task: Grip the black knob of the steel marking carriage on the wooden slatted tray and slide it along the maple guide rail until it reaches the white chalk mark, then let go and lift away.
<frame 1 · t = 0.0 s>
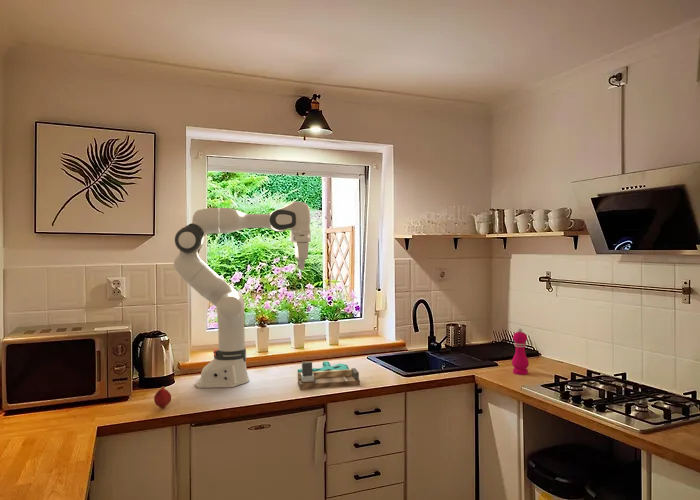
hand: (301, 269, 230), 48 cm above the worktop, tool pointing down, fingers open, 8 cm apart
pepper mill: (520, 373, 232), on the worktop
alien figure: (328, 373, 239), on the worktop
onion: (162, 409, 190), on the worktop
marking carriage: (307, 371, 217), point 6 cm above the worktop, slide at 0.0 cm
wooden slatted tray: (328, 383, 219), on the worktop
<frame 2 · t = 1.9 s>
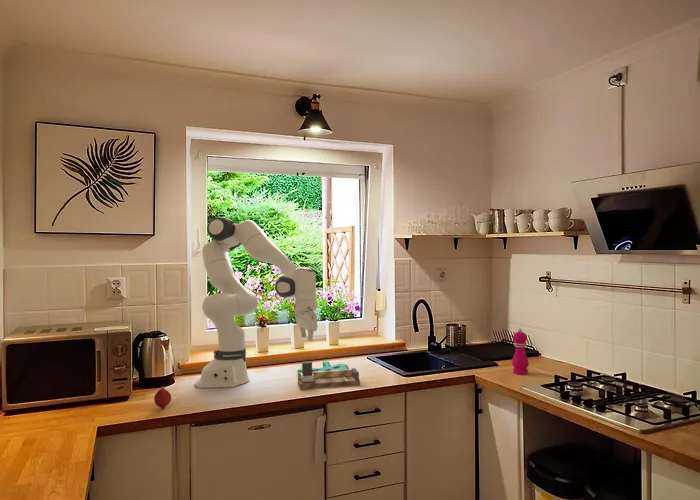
hand: (306, 339, 217), 20 cm above the worktop, tool pointing down, fingers open, 8 cm apart
nothing on the worktop moved.
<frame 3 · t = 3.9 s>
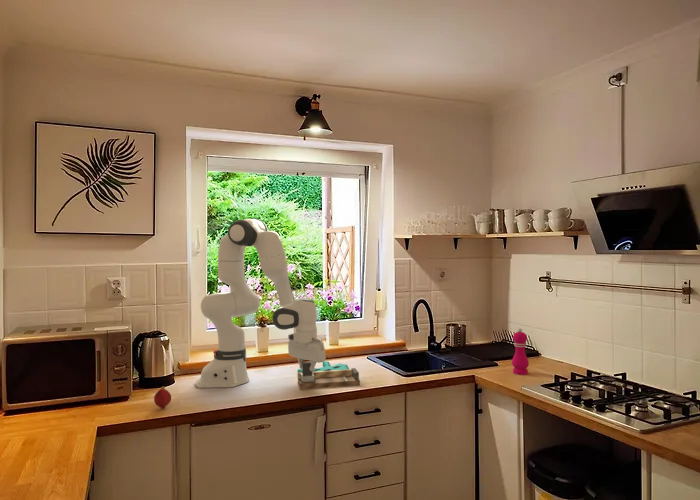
hand: (306, 369, 217), 7 cm above the worktop, tool pointing down, fingers closed on marking carriage, 5 cm apart
marking carriage: (307, 371, 217), point 6 cm above the worktop, slide at 0.0 cm, touching gripper
everything else where it was.
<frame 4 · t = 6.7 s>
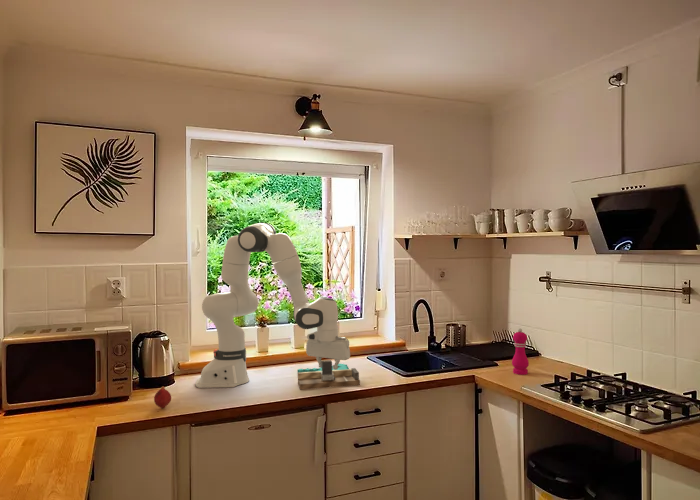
hand: (328, 368, 219), 7 cm above the worktop, tool pointing down, fingers open, 6 cm apart
marking carriage: (327, 369, 219), point 6 cm above the worktop, slide at 8.4 cm, touching gripper
everything else where it was.
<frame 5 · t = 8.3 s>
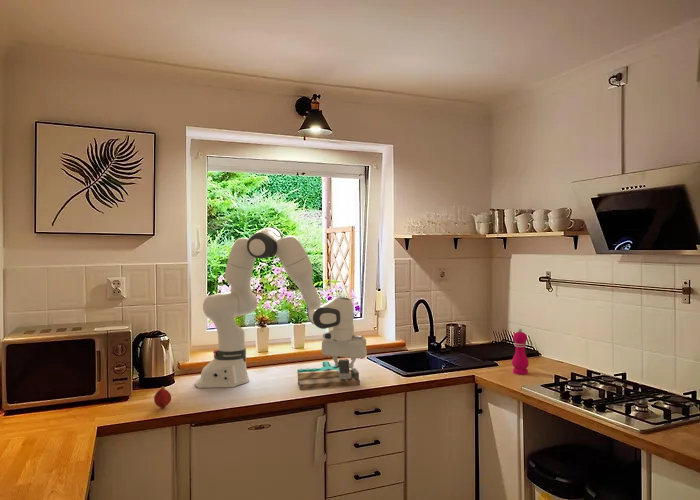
hand: (344, 367, 221), 7 cm above the worktop, tool pointing down, fingers closed on marking carriage, 5 cm apart
marking carriage: (344, 368, 220), point 6 cm above the worktop, slide at 15.7 cm, touching gripper
everything else where it was.
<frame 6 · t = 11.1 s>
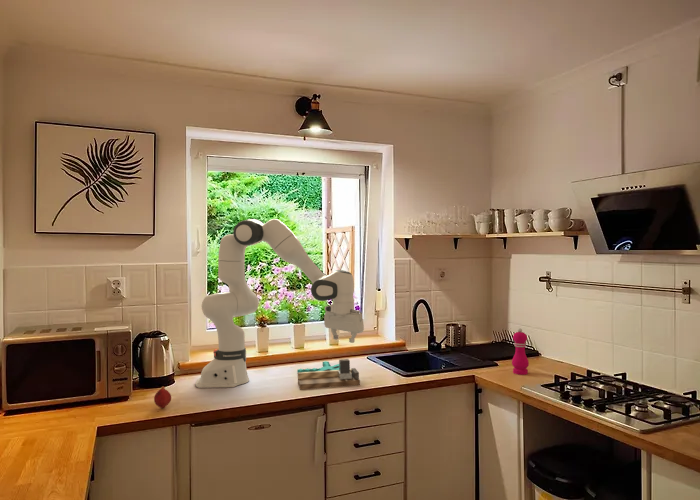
hand: (343, 340, 220), 18 cm above the worktop, tool pointing down, fingers open, 8 cm apart
marking carriage: (345, 368, 220), point 6 cm above the worktop, slide at 15.9 cm
everything else where it was.
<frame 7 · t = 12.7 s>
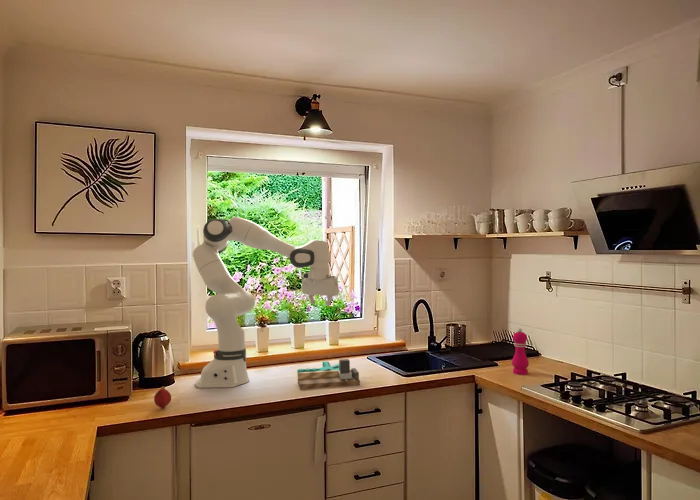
hand: (320, 304, 240), 31 cm above the worktop, tool pointing down, fingers open, 8 cm apart
nothing on the worktop moved.
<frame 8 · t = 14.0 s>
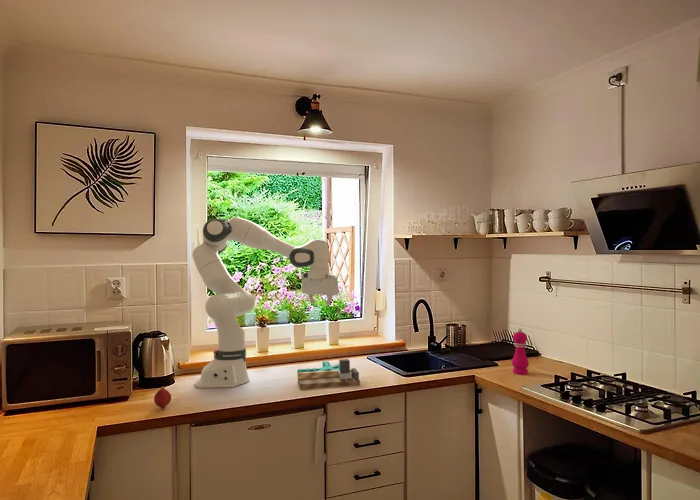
hand: (320, 304, 240), 31 cm above the worktop, tool pointing down, fingers open, 8 cm apart
nothing on the worktop moved.
at the end: marking carriage slide at 15.9 cm; the gripper is holding nothing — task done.
